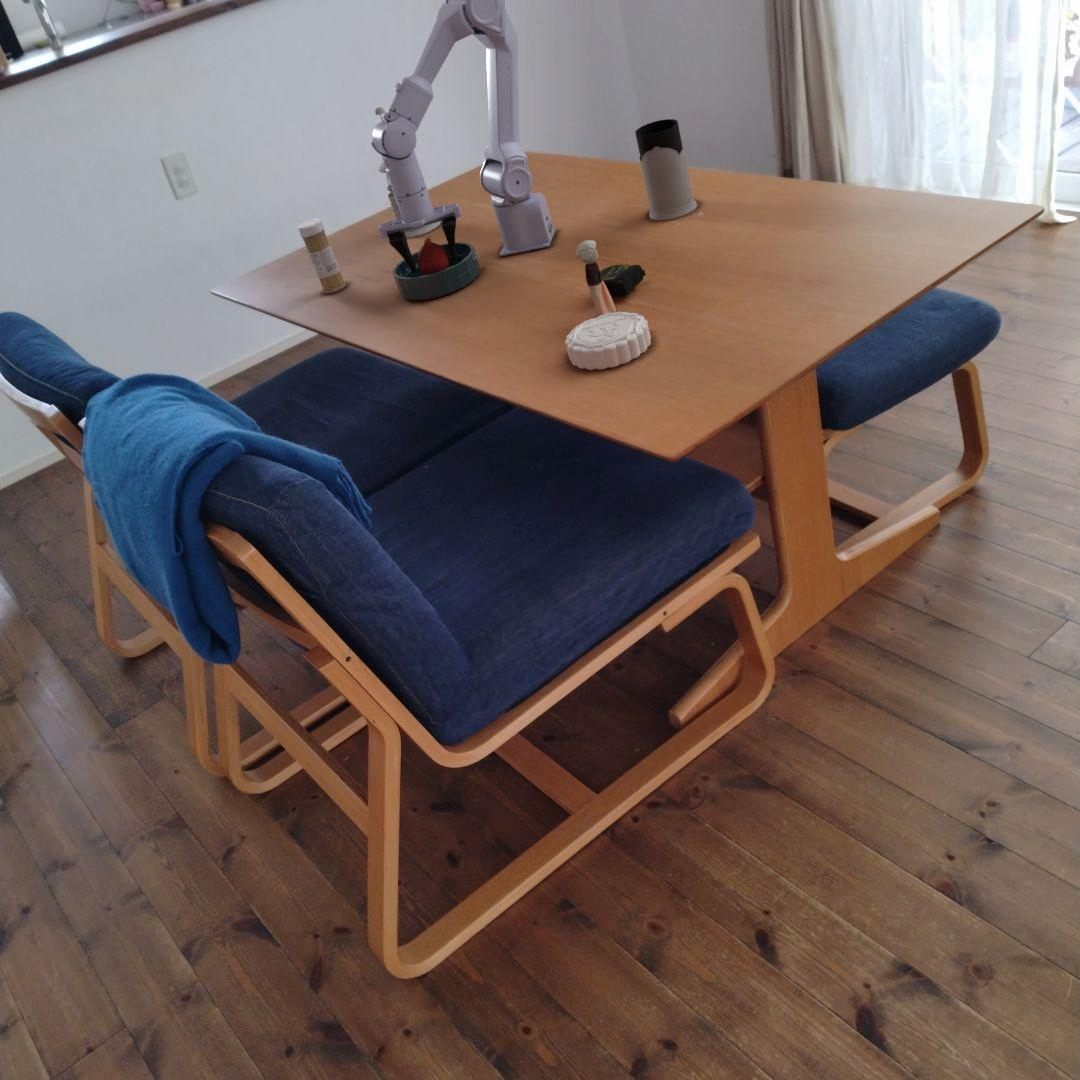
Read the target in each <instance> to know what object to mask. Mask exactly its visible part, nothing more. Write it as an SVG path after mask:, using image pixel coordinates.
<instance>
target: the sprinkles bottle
mask: <svg viewBox="0 0 1080 1080" xmlns="http://www.w3.org/2000/svg"><path fill="white" fill-rule="evenodd" d="M297 230H298V233H299V235H300V237H301V238H302V240H303V242H304V245H305V247H306V249H307V253H308V255H309V258H310V260H311V263H312V265H313V269H314V271H315V273H316V276H317V277H318V279H319V282H320V284H321V287H322V291H323V293H325V294H333V293H337V292H339V291H341V290H343V289H344V288H345V287H346V282H345V280H344V278H343V276H342V273H341V271H340V268H339V265H338V262H337V259H336V256H335V254H334V252H333V249H332V247H331V244H330V242H329V239H328V237H327V235H326V232H325V227H324V223H323V222H322V220H321V219H320V218H313V219H309V220H306V221H304V222H302V223H301V224H299V225H298V227H297Z"/></svg>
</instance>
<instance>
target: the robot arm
mask: <svg viewBox="0 0 1080 1080" xmlns="http://www.w3.org/2000/svg"><path fill="white" fill-rule="evenodd" d="M471 35H473V36H474V37H475V38H476V39H477V40H478V41H479V42H480V43H481V44H483V46H485V53H486V54H485V55H486V85H487V86H486V87H487V88H486V89H487V116H488V117H487V119H488V145H487V147H486V148H485V150H484V152H483V163H482V167H481V168H480V172H479V181H480V182H479V183H480V185H481V187H482V188H483V190H484V191H485V193H488V194H490V197H491V198H490V200H491V201H490V202H491V204H492V208H493V212H494V215H495V218H496V222H497V225H498V229H499V231H500V236H501V239H502V242H503V246H502V248H501V250H500V252H499V256H500V257H505V256H509V255H514V254H520V253H525V252H530V251H535V250H539V249H545V248H548V247H550V245H551V243H552V240H553V238H554V235H555V233H556V229H555V227H554V225H553V220H552V217H551V212H550V210H549V206H548V205H549V204H548V202H547V198H546V196H545V195H544V193H543V192H531V191H532V187H533V175H532V173H531V171H530V169H529V166H528V156H527V153H525V151H524V149H523V147H522V146H521V142H520V106H519V105H520V103H519V99H520V98H519V53H518V52H519V51H518V50H519V49H518V48H519V47H518V32H517V30H516V28H515V26H514V24H513V21H512V20H511V17H510V15H509V13H508V11H507V9H506V0H444V3H442V4H441V6H440V7H439V9H438V12H437V16H436V19H435V23H434V25H433V27H432V29H431V32H430V34H429V37H428V39H427V41H426V43H425V46H424V48H423V50H422V53H421V56H420V58H419V60H418V61H417V65H416V67H415V69H414V72H413V74H411V75H410V76H409V75H408V76H406V77H403V78H402V80H401V82H396V83H395V85H394V87H393V90H394V91H395V94H394V96H393V98H392V100H391V102H390V104H389V106H388V108H387V110H386V111H385V110H384V113H382V114H381V115H382V118H383V121H382V120H381V121H380V122H378V123H376V125H375V126H374V128H373V131H372V133H371V134H372V135H371V137H372V139H371V140H372V142H371V143H370V145H371V147H372V148H373V149H374V151H375V152H376V153H377V154H379V155H380V156H381V159H382V163H383V162H384V165H385V168H386V172H387V175H388V180H389V184H391V187H392V190H393V193H394V196H395V199H396V202H397V205H398V208H399V211H400V214H401V216H402V217H401V218H398V219H396V218H395V219H393V220H391V221H388V222H385V223H381V224H379V227H378V231H379V233H380V236H381V239H382V240H383V239H387V238H388V243H389V245H390V246H391V247H392V248H393V249H394V250H395V251H396V252H397V253H398V254H399V255H400V257H402V260H405V261H406V263H407V264H408V266H409V268H410V269H411V271H412V273H414V272H416V265H415V262H414V259H413V257H412V252H411V249H410V247H409V244H408V240H407V239H408V238H406V236H405V232H404V231H408V230H411V229H415V228H419V227H422V226H426V225H429V224H433V223H436V222H440V221H441V222H442V223H441V228H442V232H443V234H444V237H445V239H446V243H448V245H449V249H450V253H451V257H452V260H453V261H457V254H456V248H455V242H456V227H457V219H459V218H461V217H462V211H461V207H460V204H459V203H458V202H457V203H452V204H448V205H447V204H446V205H442V206H436V207H434V206H433V204H432V201H431V197H430V194H429V191H428V188H427V184H426V182H425V179H424V176H423V173H422V170H421V167H420V163H419V160H418V157H417V154H416V152H415V149H416V147H417V135H416V133H417V132H418V129H419V128H420V125H421V124H422V121H423V119H424V117H425V115H426V113H427V111H428V109H429V108H430V107H429V106H430V105H431V103H432V101H433V99H434V91H433V87H432V85H433V83H434V81H435V79H436V77H437V76H438V74H439V72H440V71H441V68H442V67H443V65H444V64H445V62H446V60H447V58H448V56H449V54H450V52H451V51H452V49H453V47H454V45H455V44H456V43H457V42H459V41H462V40H463V39H465V38H467V37H470V36H471ZM387 175H386V176H387Z"/></svg>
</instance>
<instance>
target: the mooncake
mask: <svg viewBox="0 0 1080 1080" xmlns="http://www.w3.org/2000/svg"><path fill="white" fill-rule="evenodd" d="M565 339H566V340H565V347H566V348H565V349H566V351H567V356H568V359H569V361H571V364H572V365H573V366H575V367H577V368H578V369H581V370H584V369H586V370H588V371H593V370H599V371H601V370H606V369H608V368H610V369H611V368H616V367H618V366H620V365H625V364H628V363H630V362H631V361H632V360H635V359H638V358H639V357H640V356H641V354H644V353H645V352H646V351H647V350H648V347H650V346H651V344H652V343H651V340H652V336H651V331H650V328H649V323H648V320H647V319H645V317H644V316H643V315H642V314H641V315H640V314H638V313H636V312H628V311H616V313H606V314H604V315H601V316H599V317H597V318H596V317H592V318H590V319H587V320H583V322H581V323H579V324H578V325H576V326H575V327H574V328H572V329H571V330H570V332H569V333H568V334H567V335H566V337H565Z"/></svg>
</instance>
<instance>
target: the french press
mask: <svg viewBox="0 0 1080 1080" xmlns="http://www.w3.org/2000/svg"><path fill="white" fill-rule="evenodd" d="M384 111H385V109H384V108H383V107H382V106H378V107H376V108H375V110H374V113H375V116H379V115H380V119H381V121H383V120H384V118H383V117H382V115H383V113H384ZM377 171H379V172H380V173H381V174H382V173H383V174H386V181H387V184H388V185H387V188H386V189H387V191H388V192H389V193H388V195H387V197H388V201H389V203H390V206H391V208H392V212H393V215H394V218H395V220H396V219H398V218H401V217H402V216H401V214H400V211H399V208H398V205H397V202H396V199H395V196H394V193H393V190H392V187H391V184H390V181H389V178H388V175H387V172H386V168H385V165H384V162H383V161H382V162H381V163H380V165H379V166H378V169H377ZM441 222H442V221H440V222H436V223H433V224H429V225H426V226H422V227H419V228H415V229H411V230H408V231H404V232H405V236H406V239H409V238H410V239H411V238H414V237H419V236H421V235H423V234H426V233H429V232H431V231H433V230H435V229H436V228H437V227H438V226H440V225H441V224H442V223H441Z"/></svg>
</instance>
